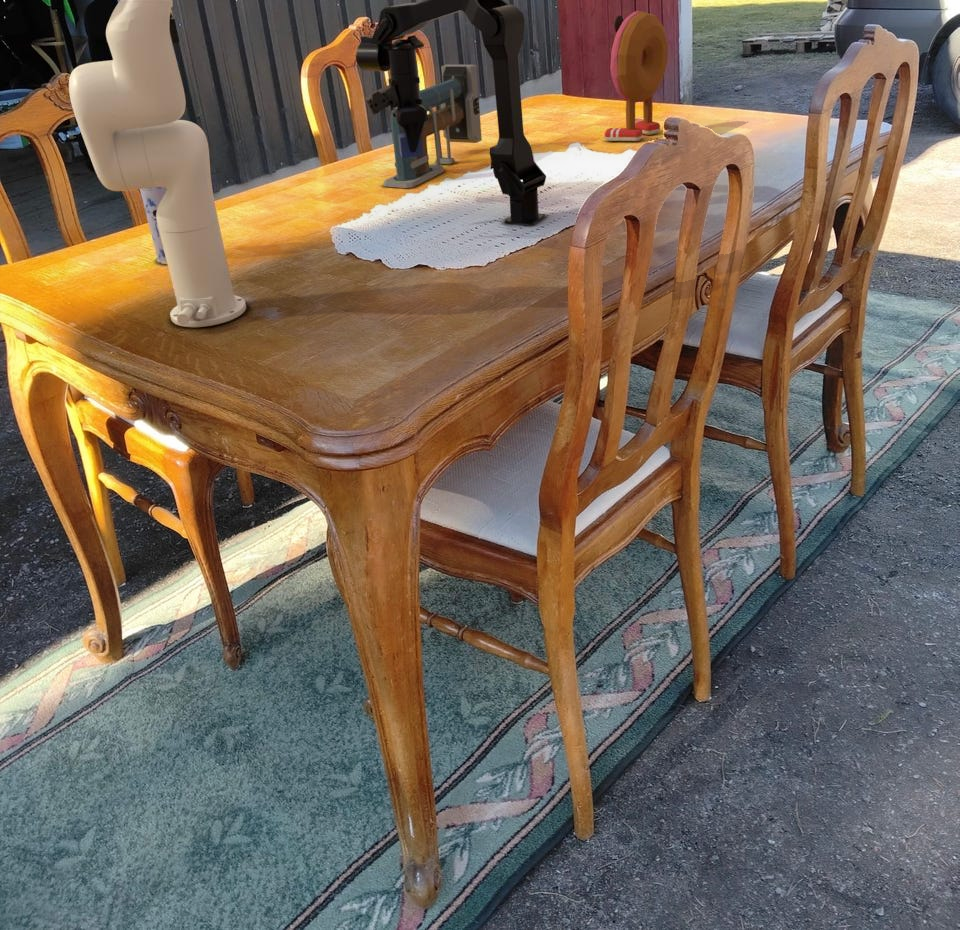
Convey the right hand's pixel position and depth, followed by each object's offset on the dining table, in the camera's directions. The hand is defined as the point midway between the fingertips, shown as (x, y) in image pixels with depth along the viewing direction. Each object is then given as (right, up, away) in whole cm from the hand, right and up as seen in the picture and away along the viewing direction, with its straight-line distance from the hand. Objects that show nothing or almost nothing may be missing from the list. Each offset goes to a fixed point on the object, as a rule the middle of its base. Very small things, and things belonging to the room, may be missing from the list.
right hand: (411, 149), depth 206 cm
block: (0, -1, 0) cm, 1 cm away
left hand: (-42, +8, -33) cm, 54 cm away
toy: (+55, +19, +48) cm, 76 cm away
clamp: (+3, +6, +34) cm, 34 cm away
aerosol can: (-46, -26, -14) cm, 55 cm away
